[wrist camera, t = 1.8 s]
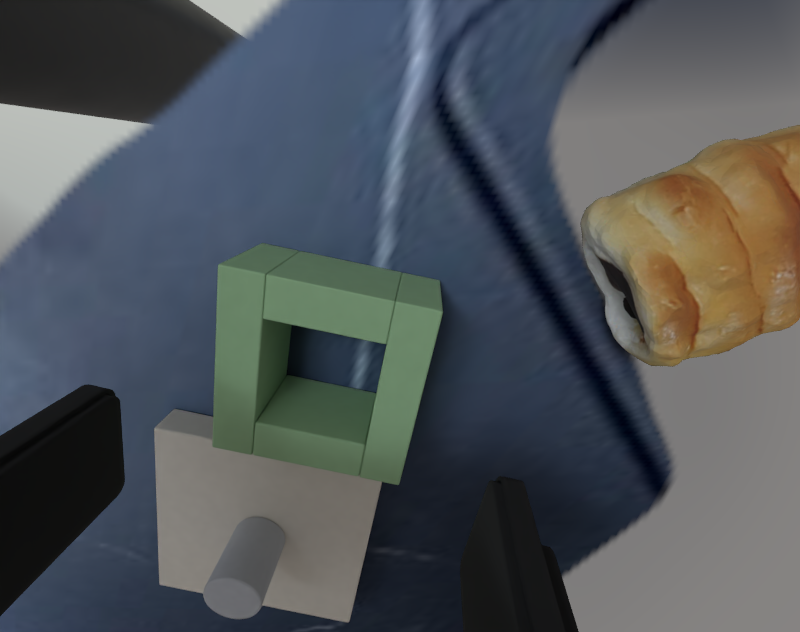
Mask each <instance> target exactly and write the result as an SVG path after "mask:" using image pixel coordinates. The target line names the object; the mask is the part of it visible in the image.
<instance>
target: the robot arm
mask: <svg viewBox="0 0 800 632" xmlns="http://www.w3.org/2000/svg"><path fill="white" fill-rule="evenodd" d="M124 482H125V475H124V458H123V442H122V425H121V409H120V400H119V398H118V397H116V396H115V393H114V391H113V390H111V389H107V388H102V387H98V386H93V385H84V386H81V387H79V388H78V389H76V390H74V391H73V392H71V393H70V394H68V395H66V396H65V397H63V398H61V399H60V400H58V401H56V402H55V403H53V404H52V405H50V406H48V407H47V408H45V409H43V410H42V411H40V412H38V413H37V414H35V415H34V416H32V417H30V418H29V419H27V420H25V421H24V422H22V423H20V424H19V425H17V426H16V427H14V428H12V429H11V430H9V431H7V432H6V433H4V434H2V435H1V436H0V616H1V615H2V614H3V613H4V612H5V611H6V610H7V609H8V608H9V607H10V606H11V605H12V604H13V602H14V601H15V600H16V599H17V598H18V597H19V596H20V595H21V594H22V593H23V592H24V591H25V590H26V589H27V588H28V587H29V586H30V585H31V584H32V583H33V582H34V581H35V580H36V579H37V578H38V577H39V576H40V575H41V574H42V573H43V572H44V571H45V570H46V569H47V568H48V567H49V566H50V565H51V564H52V563H53V562H54V561H55V559H56V558H57V557H58V556H59V555H60V554H61V553H62V552H63V551H64V550H65V549H66V548H67V547H68V546H69V545H70V544H71V543H72V542H73V541H74V540H75V539H76V538H77V537H78V536H79V535H80V534H81V533H82V532H83V531H84V530H85V529H86V528H87V527H88V526H89V525H90V524H91V523H92V522H93V521H94V520H95V519H96V518H97V516H98V515H99V514H100V513H101V512H102V511H103V510H104V509H105V508H106V507H107V506H108V505H109V504H110V503H111V502H112V501H113V500H114V499H115V498H116V497H117V496H118V495H119V493H120V492H121V490H122V488H123V486H124ZM460 579H461V596H462V614H463V631H464V632H578V629H577V625H576V622H575V619H574V616H573V613H572V609H571V606H570V603H569V599H568V596H567V593H566V589H565V586H564V583H563V579H562V576H561V573H560V570H559V566H558V563H557V560H556V557H555V555H554V552H553V550H552V549H551V548H550V547H547V546H543V545H541V542H540V539H539V535H538V531H537V528H536V524H535V521H534V517H533V513H532V510H531V506H530V503H529V499H528V495H527V492H526V488H525V485H524V482H523V481H521V480H516V479H512V478H507V477H503V476H499V477H498V478H497V480H496V481H492V480H490V481H489V483H488V485H487V488H486V490H485V493H484V496H483V499H482V502H481V505H480V507H479V510H478V513H477V516H476V519H475V521H474V524H473V527H472V530H471V533H470V536H469V538H468V541H467V544H466V547H465V550H464V552H463V555H462V559H461V566H460Z"/></svg>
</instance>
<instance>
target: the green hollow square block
mask: <svg viewBox="0 0 800 632" xmlns="http://www.w3.org/2000/svg"><path fill="white" fill-rule="evenodd" d="M442 315H443V307H442V297H441V287H440V281H439V280H435V279H431V278H426V277H421V276H416V275H412V274H407V273H401V272H398V271H393V270H388V269H384V268H379V267H374V266H369V265H365V264H360V263H355V262H350V261H346V260H341V259H336V258H331V257H327V256H322V255H317V254H312V253H308V252H303V251H300V252H299V251H298V250H293V249H288V248H283V247H279V246H274V245H269V244H264V243H261V244H259V245H257V246H255V247H253V248H251V249H249V250H247V251H245V252H243V253H241V254H239V255H237V256H235V257H233V258H231V259H229V260H227V261H225V262H222V263H220V264H219V265H218V281H217V313H216V345H215V376H214V408H213V439H212V446H213V447H215V448H219V449H224V450H229V451H234V452H239V453H244V454H249V455H252V453H253V455H255V456H260V457H265V458H270V459H274V460H279V461H284V462H289V463H294V464H299V465H304V466H309V467H313V468H318V469H323V470H328V471H333V472H338V473H343V474H348V475H352V476H359V475H360V477H361V478H366V479H370V480H375V481H380V482H385V483H390V484H395V485H399V483H400V480H401V476H402V472H403V468H404V464H405V460H406V456H407V452H408V448H409V444H410V440H411V436H412V433H413V429H414V425H415V421H416V417H417V413H418V409H419V405H420V401H421V397H422V393H423V389H424V386H425V382H426V378H427V374H428V370H429V366H430V362H431V358H432V354H433V350H434V346H435V342H436V338H437V335H438V331H439V327H440V323H441V319H442ZM292 325H295V326H300V327H305V328H310V329H314V330H319V331H324V332H329V333H334V334H338V335H343V336H348V337H353V338H358V339H362V340H367V341H372V342H377V343H382V344H386V343H387V344H386V349H385V354H384V359H383V364H382V369H381V373H380V378H379V383H378V388H377V393H373V392H368V391H363V390H358V389H354V388H349V387H344V386H339V385H334V384H329V383H325V382H320V381H315V380H310V379H305V378H300V377H296V376H291V375H287V376H286V373H287V364H288V355H289V345H290V336H291V327H292Z"/></svg>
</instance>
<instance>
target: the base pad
mask: <svg viewBox="0 0 800 632" xmlns="http://www.w3.org/2000/svg"><path fill="white" fill-rule="evenodd" d="M154 438H155V467H156V497H157V526H158V556H159V584H160V585H164V586H169V587H174V588H179V589H184V590H189V591H194V592H199V593H203V597H204V600H205V602H206V604H207V605H208V606H209V607H210V608H211V609H212V610H213V611H215V612H216V613H218V614H220V615H222V616H224V617H228V618H232V619H246V618H249V617H252V616H254V615H255V614H256V613H257V612H258V611H259V610H260V609H261V606H262V605H263V606H268V607H273V608H278V609H283V610H288V611H293V612H298V613H303V614H308V615H313V616H318V617H323V618H328V619H333V620H338V621H343V622H349V621H350V617H351V613H352V609H353V604H354V600H355V596H356V592H357V587H358V583H359V579H360V575H361V570H362V566H363V562H364V557H365V553H366V549H367V545H368V540H369V536H370V532H371V528H372V523H373V519H374V515H375V511H376V506H377V502H378V498H379V493H380V489H381V485H382V482H380V481H375V480H370V479H366V478H361V477H360V475H359V476H352V475H348V474H343V473H338V472H333V471H328V470H323V469H318V468H313V467H309V466H304V465H299V464H294V463H289V462H284V461H279V460H274V459H270V458H265V457H260V456H255V455H253V453H252V455H249V454H244V453H239V452H234V451H229V450H224V449H219V448H215V447H213V446H212V439H213V417H212V416H207V415H202V414H198V413H193V412H188V411H183V410H178V409H173V410H172V411H171V412H170V413H169V414H168V415H167V416H166V417H165V418H164V419H163V420H162V421H161V422H160V423H159V424H158V425H157V426H156V427H155V429H154Z"/></svg>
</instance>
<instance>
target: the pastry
mask: <svg viewBox="0 0 800 632" xmlns="http://www.w3.org/2000/svg"><path fill="white" fill-rule="evenodd" d="M581 230H582V243H583V251H584V256H585V259H586V262H587V266H588V268H589V269H590V271H591V272H592V274H593V275H594V277H595V280H596V283H597V284H598V286H599V287H600V289H601V291H602V292H603V293H604V295H605V302H606V306H605V315H606V320H607V323H608V325H609V327H610V329H611V331H612V334H613V337H614V338H615V340H616V341H617V342H618V343H619V344H620V345H621V346H622V347H623V348H624V349H625V350H626V351H627V352H629V353H630V354H632V355H633V356H635V357H636V358H638V359H639V360H641V361H643V362H645V363H647V364H649V365H651V366H675V365H677V364H679V363H680V362H681V361H682V360H685V359H689V358H694V357H700V356H709V355H712V354H720V353H722V352H725V351H729V350H731V349H732V348H734V347H736V346H739V345H741V344H743V343H744V342H746V341H748V340H750V339H752V338H753V337H756V336H758V335H760V334H763V333H768V332H773V331H780V330H783V329H786V328H789V327H790V326H792V325H793V324H794V323H796V322H797V321H798V320H799V318H800V125H796V126H792V127H788V128H784V129H780V130H777V131H773V132H770V133H768V134H765V135H762V136H759V137H754V138H749V139H744V140H737V139H729V140H723V141H720V142H717V143H715V144H713V145H710V146H708V147H707V148H705V149H703V150H702V151H701V152H699V153H698V154H697V155H696V156H695V157H694V158H693V159H691V160H690V161H689V162H687V163H685V164H682V165H680V166H677V167H675V168H673V169H671V170H669V171H667V172H662V173H659V174H656V175H654V176H651V177H647V178H644V179H642V180H641V181H639V182H636V183H634V184H632V185H631V186H630V187H628V188H626V189H624V190H621V191H619V192H616V193H614V194H612V195H611V196H607V197H601V198H599V199H597V200H595V201H594V202H593V203H592V204H591V205H590V206H589V207H587V208H586V210H585V212H584V214H583V216H582V219H581Z"/></svg>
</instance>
